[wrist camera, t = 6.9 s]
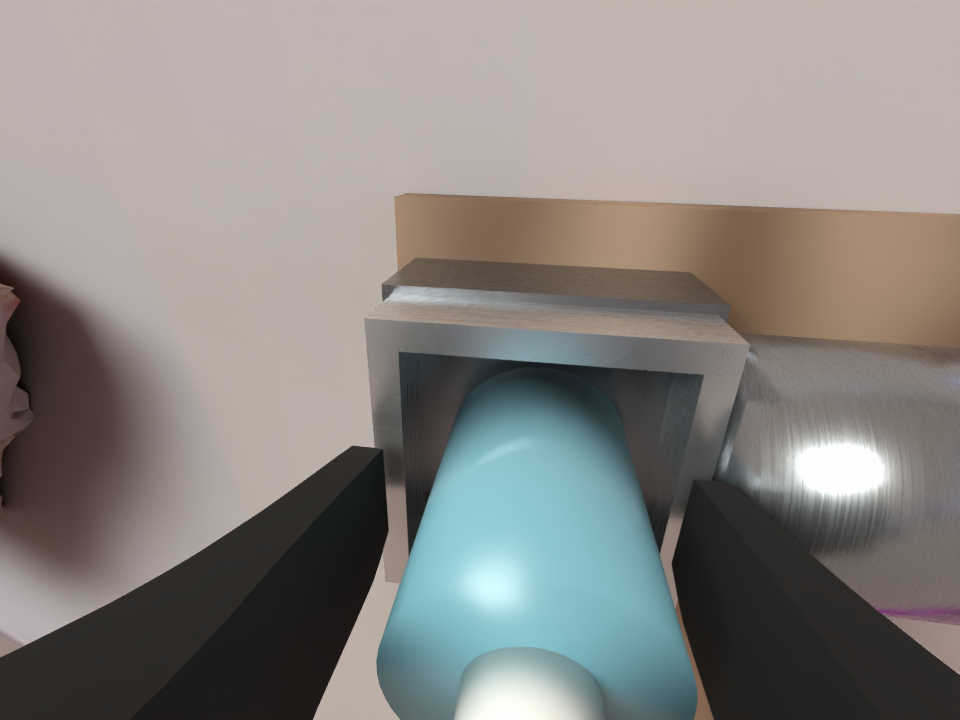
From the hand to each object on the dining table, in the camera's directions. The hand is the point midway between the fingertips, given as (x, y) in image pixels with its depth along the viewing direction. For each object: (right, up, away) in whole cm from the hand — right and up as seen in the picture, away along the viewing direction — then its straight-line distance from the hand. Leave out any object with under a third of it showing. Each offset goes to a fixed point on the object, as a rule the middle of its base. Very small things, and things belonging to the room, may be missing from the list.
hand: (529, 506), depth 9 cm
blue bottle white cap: (0, +1, +2) cm, 2 cm away
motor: (+4, +2, +4) cm, 6 cm away
